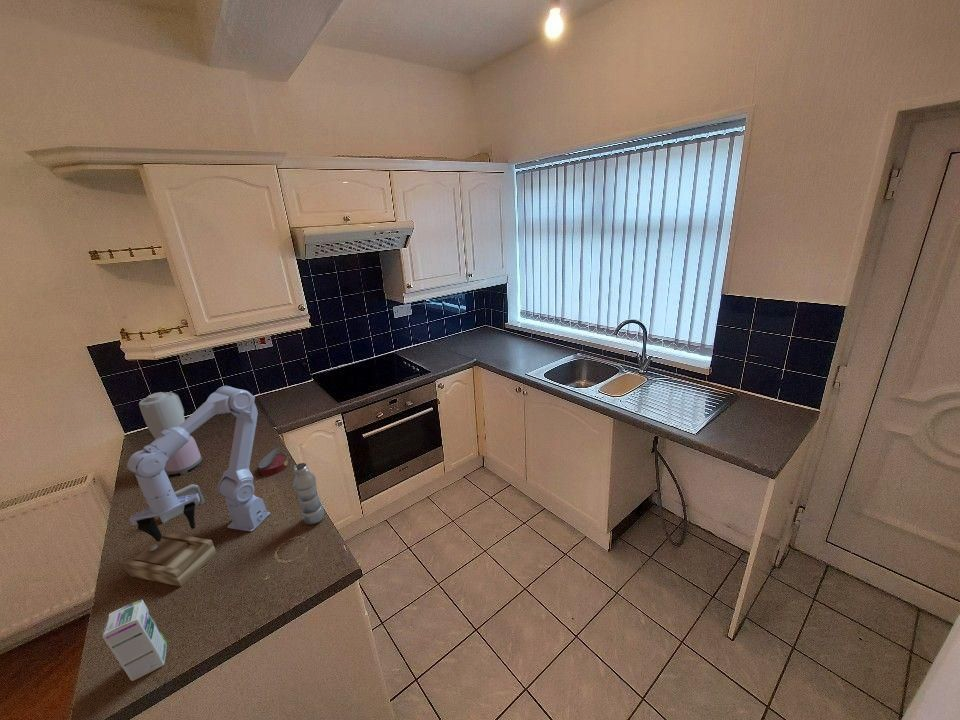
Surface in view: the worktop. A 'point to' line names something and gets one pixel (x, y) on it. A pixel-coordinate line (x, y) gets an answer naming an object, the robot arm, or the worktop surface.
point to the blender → (161, 416)
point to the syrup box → (135, 640)
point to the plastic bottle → (307, 494)
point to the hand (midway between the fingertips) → (176, 532)
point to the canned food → (273, 463)
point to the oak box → (175, 562)
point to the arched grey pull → (182, 492)
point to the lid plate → (162, 552)
